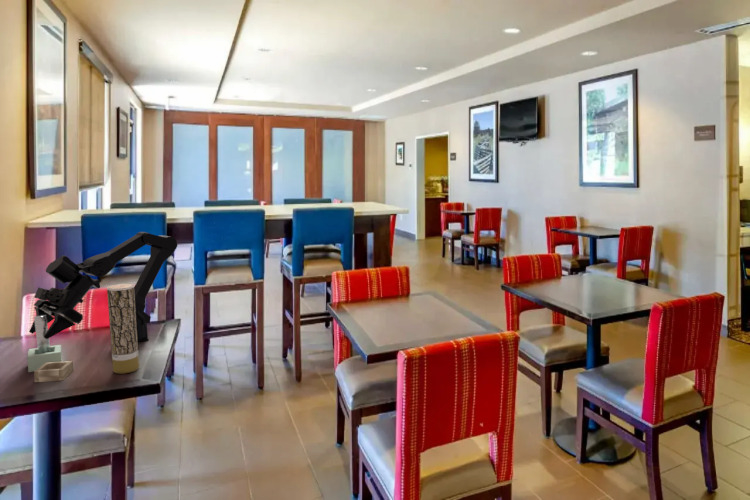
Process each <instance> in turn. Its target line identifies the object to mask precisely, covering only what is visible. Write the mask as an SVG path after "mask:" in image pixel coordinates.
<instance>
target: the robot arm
mask: <svg viewBox="0 0 750 500" xmlns="http://www.w3.org/2000/svg"><path fill="white" fill-rule="evenodd" d="M144 246H150V248H149V249H150V255H149V258H148V261H147V263H146V264H145V266H144V268H143V270H142V272H141V273H140V275H139V278H138V280H137V281H136V283H135V284H134V294H135V309H136V325H137V341H138V342H139V343H140V342H143V341H144V342H145V341H146V342H147V341H149V340H150V339H149V337H148V336H149V335H148V324H149V323H150V322H151V318H152V317H151V315H149V314H148V313H147V312H145V310H146V304H147V303H146V298H147V296H148V294H149V292H150V290H151V288H152V286H153V284H154V282H155V280H156V278H157V276H158V275H159V272H160V270H161V268H162V266H163V264H164V262H165V261H167V260H168V258H170V257H171V256H172V255H173V254H174V253H175V251H176V250H177V248H178V246H179V245H178V242H177V239H176V238H175V237H174V236H170V235H169V236H168V235H156V234H151V232H146V231H139V232H137V233H136V234H135V235H132V237H130V238H128V239H127V240H125V241H123V242H122V243H120V244H118V245H117V246H115V247H113V248H111V249H110V250H108V251H106V252H103V253H99V254H96V255H93V256H90V257H88V258H86V259H85V260H84V261H82V262H79V263H75V262H74V261H72V260H71V259H70V258H69V257H68V256H67V255H61V256H60V257H59V258H57V259H54V260H53V261H52V262H50V263H49V264H48V265H47V267H46V269H45V273H47V274H48V275H49V276H51V277H52V278H54V279H55V280H57V281H58V282H60V283H61V284H66V283H67V285H66V286H65V287H64V288H56V287H51V288H50V289H47V288H44V287H39V286H38V287H37V289H36V291H35V294H34V297H33V298H35V299H38V300H37V301H35V303H34V304H33V306H34V307H33V308H34V310H35V313H36V314H35V316H39V315H46V317H47V324H49V323H51V324H50V326H49V327H48V331H47V332H46V334H45V335H44V338H46V339H48V338H49V339H51V338H52V337H54V336H56V335H57V334H59V333H61V332H63V331H64V330H67V329H69V328H72V327H73V326H74V327H75V326H76V325H79V324H80V323H81V322H82V321H83V320H84V317H83V314H82V313H80V312H79V311H77V310H76V309H75V308H76V306H78V304H83V302H84V301H85V300H83V298H84V297H85V296H86V295H87V293H88V292H89V291H90V290H91V289H92V287H93V288H94V289H101V285H100V279H97V278H95V279H94V278H92V276H93V277H99V278H102V277H105V276H106V275H107V274H109V273H110V272H111V271H112V270H113V269H114V268H115V267H116V264H118V263H119V262H120V261H122V260H123V259H125V258H127V257H129V255H131V254H133V253H134V252H136V251H138V250H139V249H141V248H143V247H144ZM82 273H84V274H82ZM52 321H53V322H52ZM29 333H31V334H34V333H35V334H36V329H35V321H34V320H33V323H32V324H31V327H30V329H29Z"/></svg>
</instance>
